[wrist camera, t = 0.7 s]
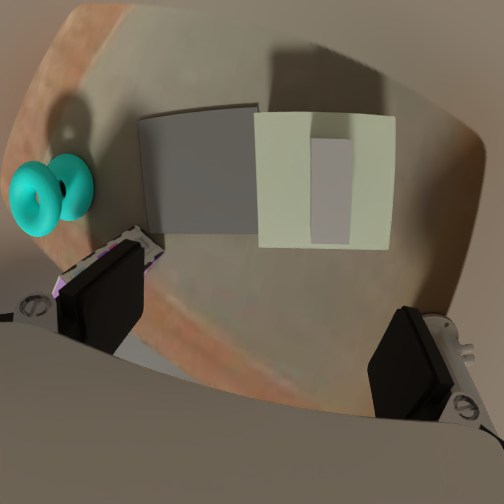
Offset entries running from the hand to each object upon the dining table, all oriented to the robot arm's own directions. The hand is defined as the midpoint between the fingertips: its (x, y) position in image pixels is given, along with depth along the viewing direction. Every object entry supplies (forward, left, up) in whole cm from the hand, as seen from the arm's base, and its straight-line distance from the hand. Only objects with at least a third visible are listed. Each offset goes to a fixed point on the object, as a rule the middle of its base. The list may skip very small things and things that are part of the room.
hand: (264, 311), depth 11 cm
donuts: (+32, -1, -27) cm, 41 cm away
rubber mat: (+11, -1, -27) cm, 29 cm away
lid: (-3, -1, -21) cm, 21 cm away
